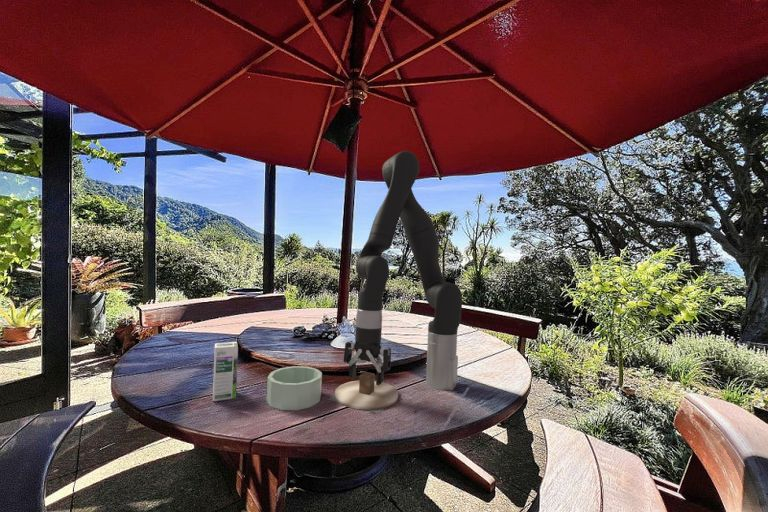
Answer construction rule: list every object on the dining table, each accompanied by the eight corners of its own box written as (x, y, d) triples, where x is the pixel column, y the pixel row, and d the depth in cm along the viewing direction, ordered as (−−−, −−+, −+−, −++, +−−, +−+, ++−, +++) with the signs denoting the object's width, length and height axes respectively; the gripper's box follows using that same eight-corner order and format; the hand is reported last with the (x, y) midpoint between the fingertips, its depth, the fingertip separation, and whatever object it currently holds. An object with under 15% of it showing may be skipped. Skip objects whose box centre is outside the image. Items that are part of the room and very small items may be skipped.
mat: (402, 393, 98) (402, 391, 98) (378, 415, 84) (378, 413, 84) (356, 382, 105) (356, 380, 105) (326, 401, 91) (327, 399, 91)
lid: (407, 391, 99) (408, 371, 99) (380, 416, 83) (381, 392, 83) (355, 379, 107) (356, 360, 107) (321, 399, 91) (322, 377, 91)
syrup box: (212, 402, 88) (214, 347, 88) (212, 393, 93) (214, 342, 93) (236, 398, 90) (238, 345, 90) (234, 390, 95) (237, 340, 96)
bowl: (330, 396, 94) (331, 372, 94) (297, 417, 82) (298, 388, 82) (292, 386, 100) (293, 363, 100) (255, 404, 88) (256, 377, 88)
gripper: (396, 326, 95) (393, 382, 95) (354, 319, 101) (351, 372, 101) (385, 330, 88) (381, 391, 88) (340, 323, 95) (337, 380, 95)
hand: (365, 381), depth 95 cm, fingers open, 8 cm apart
